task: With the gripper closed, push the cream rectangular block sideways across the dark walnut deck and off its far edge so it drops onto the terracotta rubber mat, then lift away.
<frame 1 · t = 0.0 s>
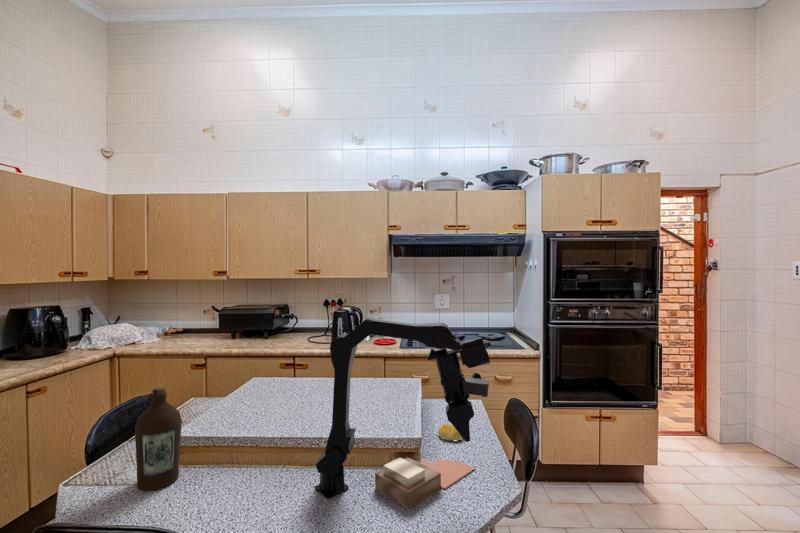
hand: (466, 433, 94), 15 cm above the kitchen island, tool pointing down, fingers open, 9 cm apart
mat: (440, 469, 106), on the kitchen island
cream rectangular block: (403, 475, 96), point 4 cm above the kitchen island, touching deck
bread roll: (451, 437, 128), on the kitchen island
olive oil: (158, 482, 100), on the kitchen island
deck: (408, 488, 97), on the kitchen island
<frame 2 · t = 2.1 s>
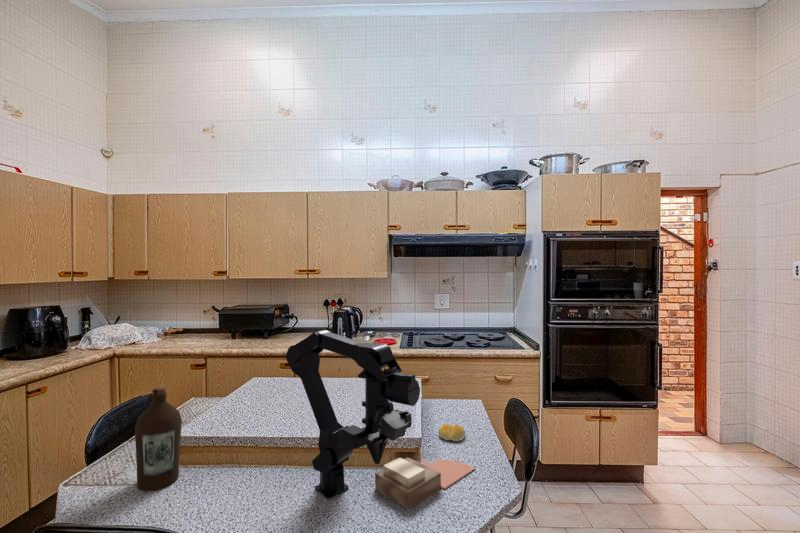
hand: (377, 463, 89), 10 cm above the kitchen island, tool pointing down, fingers closed
nothing on the kitchen island moved.
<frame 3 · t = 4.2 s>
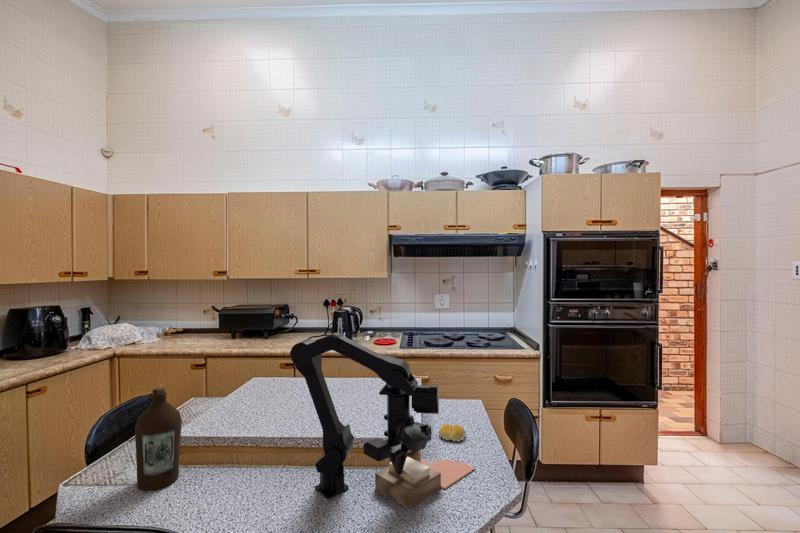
hand: (398, 473, 94), 5 cm above the kitchen island, tool pointing down, fingers closed
cream rectangular block: (408, 472, 97), point 4 cm above the kitchen island, touching deck, gripper
everything else where it was.
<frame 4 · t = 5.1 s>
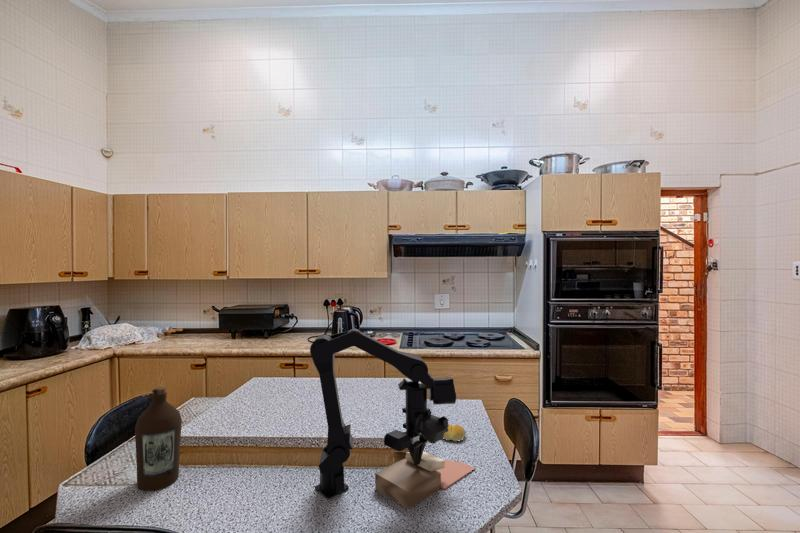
hand: (416, 464, 99), 5 cm above the kitchen island, tool pointing down, fingers closed
cream rectangular block: (424, 463, 102), point 4 cm above the kitchen island, tilted 13°, touching deck
everything else where it was.
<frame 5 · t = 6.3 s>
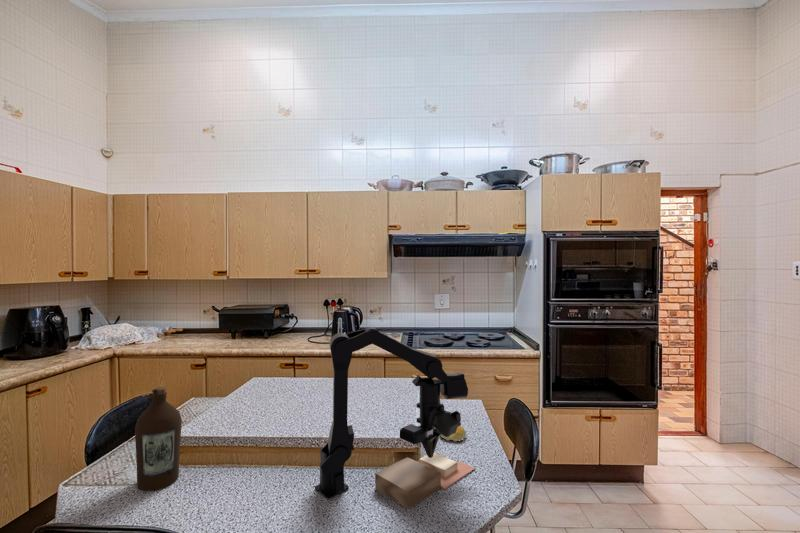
hand: (430, 457, 103), 5 cm above the kitchen island, tool pointing down, fingers closed
cream rectangular block: (438, 460, 106), point 2 cm above the kitchen island, tilted 180°, touching mat
everything else where it was.
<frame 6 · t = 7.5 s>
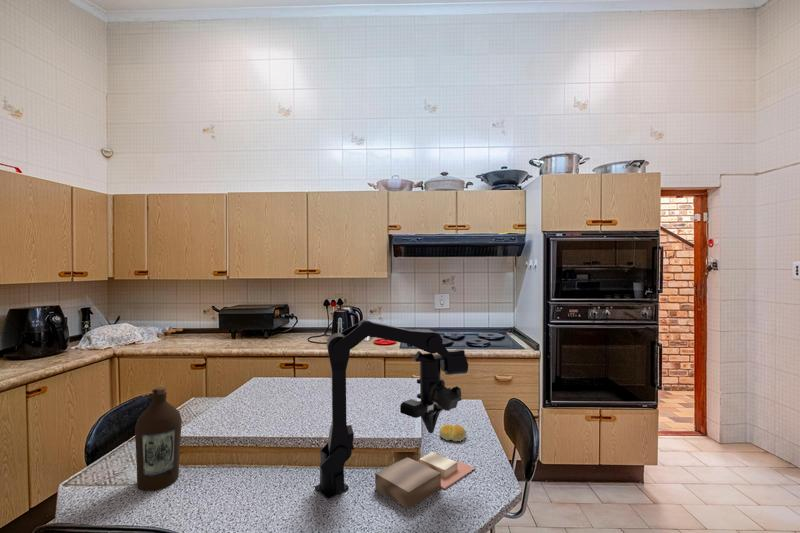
hand: (430, 432, 103), 12 cm above the kitchen island, tool pointing down, fingers closed
nothing on the kitchen island moved.
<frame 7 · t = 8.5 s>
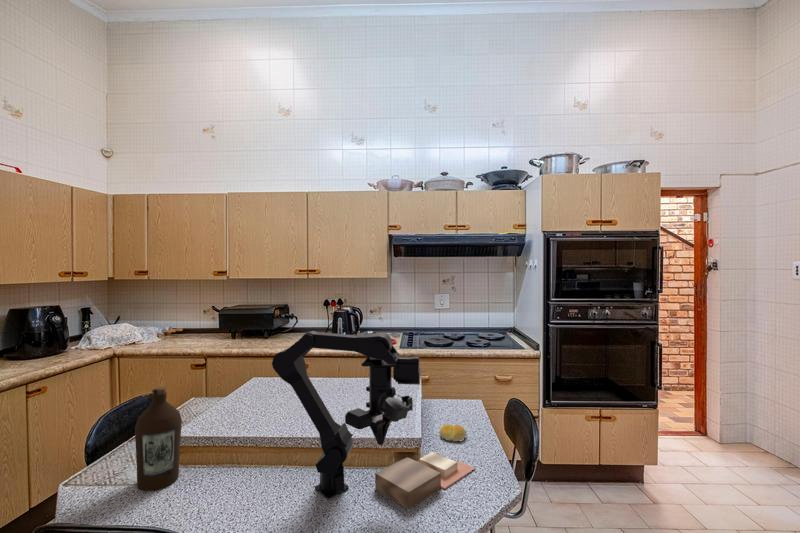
hand: (380, 444, 96), 12 cm above the kitchen island, tool pointing down, fingers closed
nothing on the kitchen island moved.
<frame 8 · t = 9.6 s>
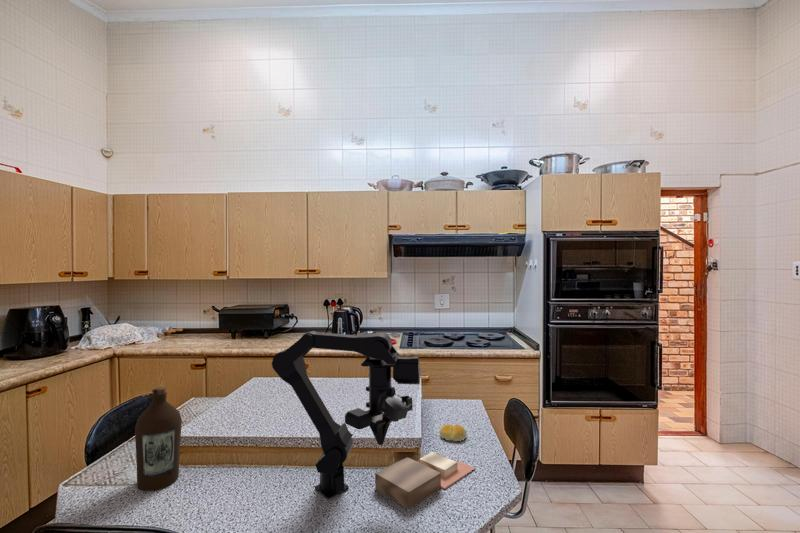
hand: (380, 444, 95), 12 cm above the kitchen island, tool pointing down, fingers closed
nothing on the kitchen island moved.
at the end: cream rectangular block inside the target area (0.8 cm from its centre), point 2.4 cm above the kitchen island; cream rectangular block touching mat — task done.
